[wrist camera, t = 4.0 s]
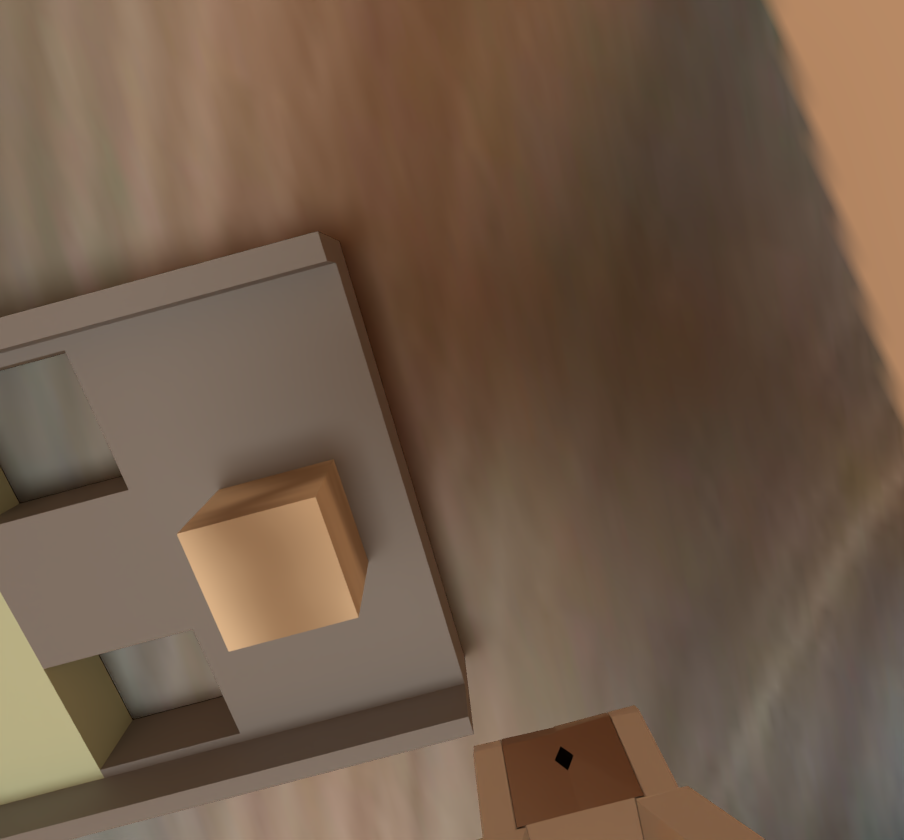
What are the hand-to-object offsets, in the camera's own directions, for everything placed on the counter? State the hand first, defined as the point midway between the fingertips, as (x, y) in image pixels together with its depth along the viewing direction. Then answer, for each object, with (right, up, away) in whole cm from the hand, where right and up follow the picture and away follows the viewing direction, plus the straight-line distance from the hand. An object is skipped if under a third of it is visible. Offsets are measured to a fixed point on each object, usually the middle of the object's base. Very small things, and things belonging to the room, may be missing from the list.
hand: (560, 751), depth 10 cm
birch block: (-9, +1, +13) cm, 16 cm away
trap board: (-17, 0, +16) cm, 23 cm away
